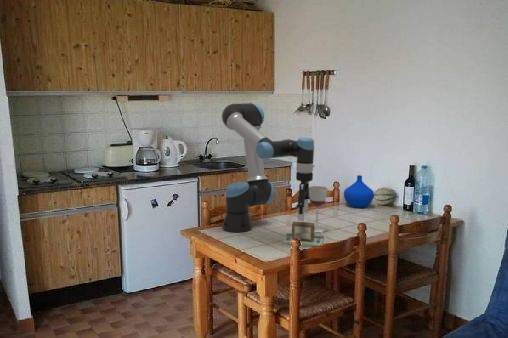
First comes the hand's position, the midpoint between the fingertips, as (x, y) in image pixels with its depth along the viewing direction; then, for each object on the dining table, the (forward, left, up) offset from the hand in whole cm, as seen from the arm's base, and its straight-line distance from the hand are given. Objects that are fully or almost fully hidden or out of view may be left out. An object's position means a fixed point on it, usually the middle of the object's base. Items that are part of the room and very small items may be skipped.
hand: (302, 216), depth 214 cm
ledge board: (0, 0, -12) cm, 12 cm away
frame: (0, 0, -11) cm, 11 cm away
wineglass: (+4, +20, -12) cm, 24 cm away
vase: (+23, +78, -12) cm, 82 cm away
